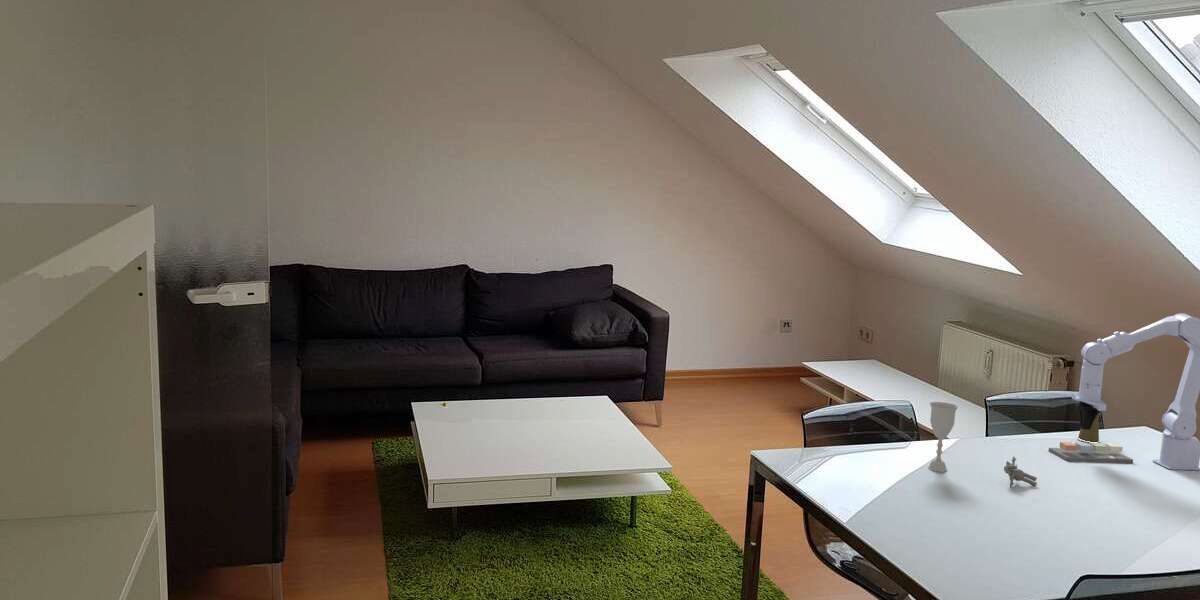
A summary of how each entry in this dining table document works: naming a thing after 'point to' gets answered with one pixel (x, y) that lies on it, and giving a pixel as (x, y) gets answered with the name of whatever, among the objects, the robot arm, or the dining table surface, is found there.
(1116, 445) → the key cream
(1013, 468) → the toy figurine
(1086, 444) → the key blue
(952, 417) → the chalice
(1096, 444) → the key sage
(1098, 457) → the keypad base
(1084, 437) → the cork
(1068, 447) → the key terracotta
